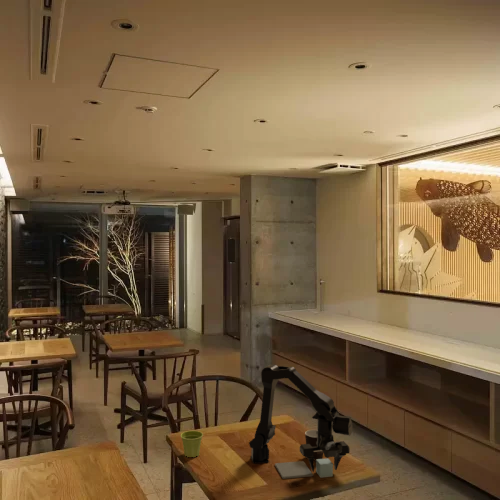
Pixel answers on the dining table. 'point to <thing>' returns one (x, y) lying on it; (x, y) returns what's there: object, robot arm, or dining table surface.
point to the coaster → (293, 469)
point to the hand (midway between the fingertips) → (324, 470)
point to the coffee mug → (313, 442)
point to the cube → (324, 467)
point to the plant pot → (191, 443)
